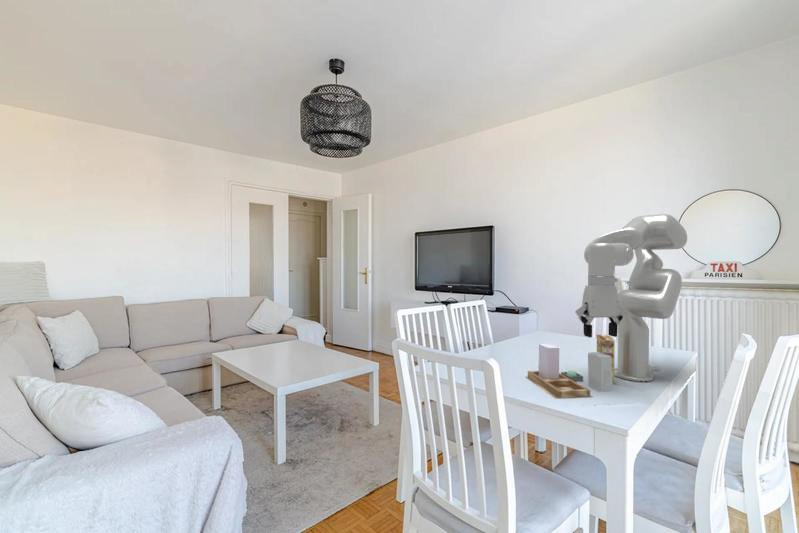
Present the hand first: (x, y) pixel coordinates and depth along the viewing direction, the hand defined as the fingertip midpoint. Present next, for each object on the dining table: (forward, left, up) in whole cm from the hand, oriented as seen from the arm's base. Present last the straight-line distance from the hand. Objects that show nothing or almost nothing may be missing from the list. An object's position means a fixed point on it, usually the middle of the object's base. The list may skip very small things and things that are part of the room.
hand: (600, 336), depth 117 cm
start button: (+4, -9, -17) cm, 20 cm away
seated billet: (+13, -8, -17) cm, 23 cm away
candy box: (-9, -10, -18) cm, 23 cm away
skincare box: (0, 0, -18) cm, 18 cm away
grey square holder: (+4, -9, -18) cm, 20 cm away
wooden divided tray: (+13, -3, -18) cm, 22 cm away
